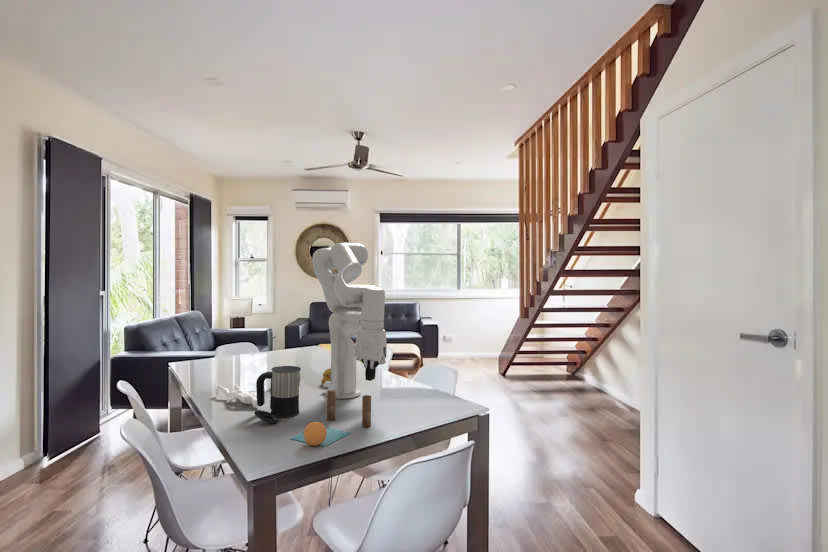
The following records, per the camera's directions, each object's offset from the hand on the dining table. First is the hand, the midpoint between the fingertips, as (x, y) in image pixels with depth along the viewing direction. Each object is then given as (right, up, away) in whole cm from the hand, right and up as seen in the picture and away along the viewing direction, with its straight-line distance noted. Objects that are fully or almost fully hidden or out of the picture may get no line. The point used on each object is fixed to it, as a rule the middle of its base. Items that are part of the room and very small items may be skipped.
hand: (370, 379), depth 153 cm
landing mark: (-11, -10, -24) cm, 29 cm away
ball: (-12, -7, -31) cm, 34 cm away
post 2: (0, -11, -16) cm, 19 cm away
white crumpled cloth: (-47, -11, +9) cm, 49 cm away
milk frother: (-28, -10, -8) cm, 31 cm away
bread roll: (-18, -11, +37) cm, 43 cm away
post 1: (-11, -10, -10) cm, 18 cm away
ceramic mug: (-35, -10, +31) cm, 48 cm away
